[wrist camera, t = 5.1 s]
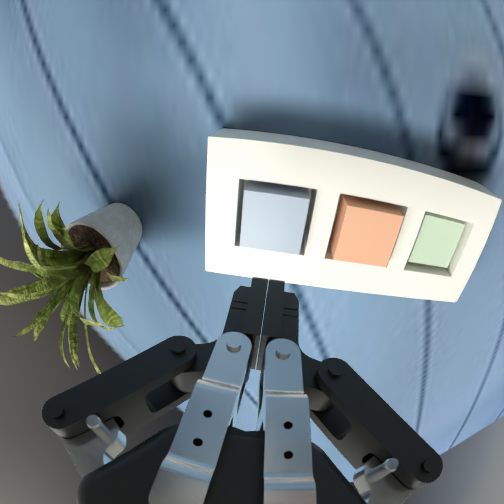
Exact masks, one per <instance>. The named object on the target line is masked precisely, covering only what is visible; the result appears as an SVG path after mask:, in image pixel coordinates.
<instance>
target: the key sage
mask: <svg viewBox="0 0 504 504" xmlns="http://www.w3.org/2000/svg"><path fill="white" fill-rule="evenodd" d="M464 227H465V224H464V223H463V222H462V221H461V220H458V219H455V218H451V217H447V216H443V215H439V214H435V213H431V212H427V211H425V214H424V217H423V220H422V223H421V226H420V228H419V231H418V234H417V237H416V239H415V242H414V245H413V247H412V250H411V253H410V255H409V258H408V262H414V263H420V264H426V265H433V266H439V267H445V268H447V267H448V265H449V262H450V260H451V258H452V256H453V253H454V251H455V249H456V247H457V244H458V242H459V239H460V237H461V234H462V232H463V229H464Z"/></svg>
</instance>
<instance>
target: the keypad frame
mask: <svg viewBox="0 0 504 504" xmlns="http://www.w3.org/2000/svg"><path fill="white" fill-rule="evenodd" d="M248 180H254V181H262V182H270V183H278V184H285V185H292V186H298V187H305V188H308V191H309V197H310V201H309V206H308V212H307V217H306V222H305V228H304V233H303V238H302V243H301V248H300V253H299V255H296V254H289V253H282V252H275V251H268V250H261V249H254V248H247V247H240V234H241V221H242V208H243V196H244V189H245V187H246V185H247V182H248ZM341 194H347V195H352V196H357V197H363V198H368V199H373V200H378V201H382V202H387V203H392V204H395V205H396V207H397V208H398V209H399V211H400V212H401V213H402V215H403V216H404V218H403V221H402V224H401V227H400V230H399V233H398V236H397V239H396V242H395V245H394V247H393V250H392V253H391V255H390V258H389V261H388V263H387V266H386V267H380V266H373V265H366V264H359V263H352V262H345V261H338V260H333V256H332V251H331V247H330V241H331V237H332V233H333V229H334V225H335V221H336V216H337V212H338V208H339V203H340V199H341ZM501 201H502V200H501V199H500V198H499V197H497V196H496V195H495V194H493V193H492V192H491V191H489V190H488V189H486V188H485V187H484V186H482V185H481V184H479V183H478V182H475V181H472V180H470V179H467V178H464V177H461V176H459V175H456V174H453V173H450V172H447V171H444V170H441V169H438V168H434V167H431V166H428V165H425V164H421V163H418V162H414V161H411V160H407V159H404V158H400V157H396V156H392V155H388V154H384V153H380V152H376V151H372V150H367V149H363V148H358V147H354V146H349V145H344V144H339V143H334V142H328V141H323V140H317V139H311V138H305V137H298V136H291V135H284V134H276V133H268V132H259V131H249V130H238V129H226V128H222V129H220V130H218V131H216V132H215V133H213V134H211V135H210V136H208V151H207V178H206V227H205V271H210V272H217V273H223V274H230V275H237V276H244V277H250V278H253V277H258V278H266V279H268V280H269V279H273V280H281V281H285V282H286V283H293V284H300V285H308V286H316V287H323V288H331V289H339V290H347V291H355V292H364V293H372V294H381V295H390V296H399V297H408V298H417V299H427V300H437V301H447V302H456V301H457V299H458V298H459V296H460V294H461V292H462V290H463V288H464V287H465V285H466V283H467V281H468V279H469V277H470V275H471V273H472V271H473V269H474V267H475V265H476V263H477V261H478V259H479V256H480V254H481V252H482V250H483V248H484V245H485V243H486V241H487V238H488V236H489V234H490V231H491V229H492V226H493V223H494V221H495V218H496V216H497V213H498V210H499V207H500V204H501ZM425 211H427V212H431V213H435V214H439V215H443V216H447V217H451V218H455V219H458V220H461V221H462V222H463V223H464V224H465V227H464V229H463V232H462V234H461V237H460V239H459V242H458V244H457V247H456V249H455V251H454V253H453V256H452V258H451V260H450V262H449V265H448V267H447V268H445V267H439V266H433V265H426V264H420V263H414V262H408V258H409V255H410V253H411V250H412V247H413V245H414V242H415V239H416V237H417V234H418V231H419V228H420V226H421V223H422V220H423V217H424V214H425Z"/></svg>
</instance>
